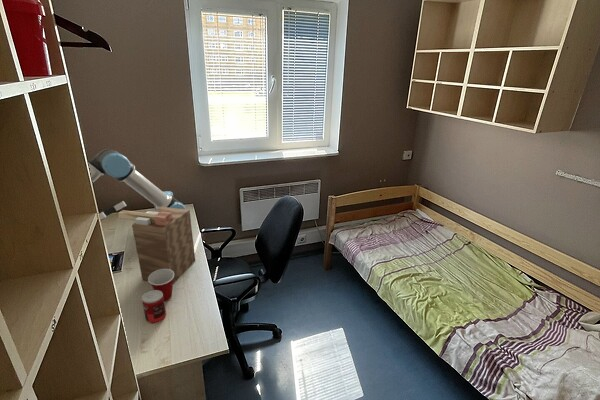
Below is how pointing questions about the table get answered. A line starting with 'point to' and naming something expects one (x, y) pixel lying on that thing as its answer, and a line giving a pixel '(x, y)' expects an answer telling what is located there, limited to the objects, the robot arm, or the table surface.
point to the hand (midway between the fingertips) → (114, 208)
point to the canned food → (154, 306)
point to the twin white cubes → (144, 219)
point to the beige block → (158, 219)
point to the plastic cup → (162, 282)
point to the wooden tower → (165, 244)
